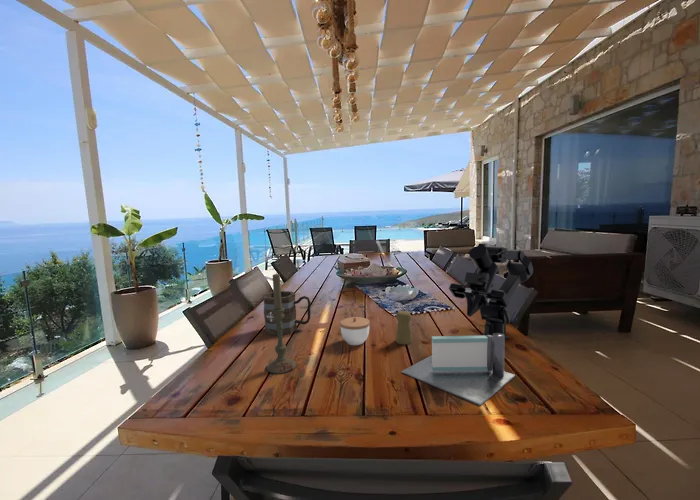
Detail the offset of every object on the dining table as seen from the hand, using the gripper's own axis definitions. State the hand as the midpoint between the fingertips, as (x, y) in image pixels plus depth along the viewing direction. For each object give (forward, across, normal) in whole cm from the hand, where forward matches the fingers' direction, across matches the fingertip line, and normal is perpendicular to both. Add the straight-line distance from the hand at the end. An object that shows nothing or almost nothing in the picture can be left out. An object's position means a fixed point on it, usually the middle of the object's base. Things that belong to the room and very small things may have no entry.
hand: (468, 315), depth 108 cm
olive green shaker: (+14, -22, +5) cm, 26 cm away
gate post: (+20, +5, -3) cm, 21 cm away
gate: (+18, +6, -2) cm, 19 cm away
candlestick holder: (+43, -36, -25) cm, 62 cm away
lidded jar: (+22, -34, -4) cm, 41 cm away
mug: (+30, -64, -11) cm, 72 cm away
